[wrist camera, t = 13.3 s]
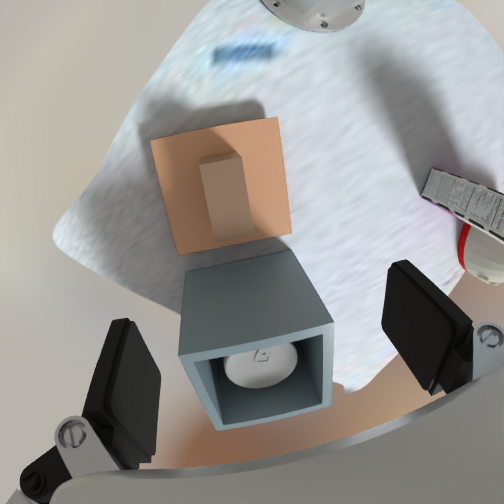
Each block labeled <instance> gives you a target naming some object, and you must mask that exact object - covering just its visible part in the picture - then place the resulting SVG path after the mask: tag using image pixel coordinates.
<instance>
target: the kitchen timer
mask: <svg viewBox="0 0 504 504" xmlns="http://www.w3.org/2000/svg"><path fill="white" fill-rule="evenodd" d="M458 258H459V263H460V264H461V266H462V268H463V269H465V270H466V271H467V272H469V273H471V274H472V275H474V276H476V277H478V278H479V279H480V280H482V281H484V282H486V283H489V284H492V285H495V286H498V285H499V283H500V282H504V245H503V244H502V243H500V242H499V241H497V240H495V239H494V238H492V237H490V236H489V235H487V234H485V233H484V232H482V231H480V230H478V229H477V228H475V227H473V226H471V225H470V224H468V223H466V222H465V224H464V226H463V229H462V231H461V235H460V239H459V243H458Z"/></svg>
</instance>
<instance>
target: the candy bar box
mask: <svg viewBox="0 0 504 504" xmlns="http://www.w3.org/2000/svg"><path fill="white" fill-rule="evenodd" d="M421 197H422V198H423V199H425V200H427V201H429V202H430V203H432V204H434V205H436V206H437V207H439V208H441V209H443V210H444V211H446V212H448V213H450V214H451V215H453V216H455V217H457V218H459V219H460V220H462V221H464V222H466V223H468V224H470V225H471V226H473V227H475V228H477V229H478V230H480V231H482V232H484V233H485V234H487V235H489V236H490V237H492V238H494V239H495V240H497V241H499V242H500V243H502V244H503V245H504V194H503V193H501V192H498V191H496V190H493V189H491V188H488V187H486V186H483V185H481V184H478V183H475V182H472V181H470V180H467V179H465V178H462V177H459V176H456V175H454V174H451V173H448V172H445V171H442V170H439V169H436V168H433V167H432V168H431V170H430V173H429V175H428V179H427V181H426V184H425V187H424V189H423V191H422V194H421Z"/></svg>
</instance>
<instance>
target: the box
mask: <svg viewBox="0 0 504 504" xmlns="http://www.w3.org/2000/svg"><path fill="white" fill-rule="evenodd" d="M290 342H294V345H295V347H296V352H297V357H298V358H297V364H296V366H295V368H294V370H293V371H292V372H291V374H290V375H289V376H288V377H286V378H285V379H284V380H282V381H280V382H279V383H277V384H274V385H272V386H268V387H264V388H246V387H242V386H239V385H237V384H235V383H234V382H232V381H231V380H230V379H229V378H228V376H227V375H226V372H225V368H224V362H223V357H224V356H230V355H235V354H240V353H245V352H250V351H254V350H259V349H264V348H268V347H273V346H277V345H281V344H285V343H290ZM333 353H334V321H333V319H332V317H331V316H330V314H329V312H328V310H327V309H326V307H325V305H324V303H323V302H322V300H321V298H320V297H319V295H318V293H317V292H316V290H315V288H314V286H313V285H312V283H311V281H310V280H309V278H308V276H307V275H306V273H305V271H304V270H303V268H302V266H301V265H300V263H299V261H298V260H297V258H296V256H295V255H294V253H293V251H292V250H288V251H284V252H279V253H274V254H269V255H265V256H260V257H255V258H250V259H246V260H241V261H236V262H231V263H227V264H222V265H217V266H212V267H207V268H203V269H198V270H193V271H188V272H186V274H185V283H184V292H183V302H182V313H181V324H180V336H179V350H178V356H179V359H180V361H181V363H182V365H183V367H184V369H185V371H186V373H187V375H188V377H189V379H190V381H191V383H192V385H193V387H194V389H195V391H196V393H197V395H198V397H199V399H200V401H201V403H202V405H203V406H204V408H205V410H206V412H207V414H208V416H209V417H210V419H211V421H212V423H213V425H214V426H215V428H216V430H217V431H218V430H225V429H231V428H237V427H243V426H249V425H254V424H259V423H264V422H268V421H274V420H278V419H282V418H287V417H291V416H295V415H299V414H303V413H306V412H310V411H314V410H317V409H321V408H324V407H328V406H330V405H331V393H332V376H333Z"/></svg>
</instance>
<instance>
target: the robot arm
mask: <svg viewBox="0 0 504 504" xmlns="http://www.w3.org/2000/svg"><path fill="white" fill-rule="evenodd" d="M262 1H263V2H264V4H265V5H266V6H267V8H268V9H269V10H271V11H272V12H273V13H274V14H275V15H276V16H277V17H279V18H280V19H282V20H283V21H285V22H287V23H289V24H291V25H293V26H295V27H298V28H301V29H303V30H308V31H313V32H324V33H326V32H335V31H338V30H341V29H344V28H346V27H348V26H350V25H351V24H353V23H354V22H355V21H357V19H358V18H359V17H360V16H361V14H362V12H363V10H364V5H365V0H262ZM274 5H277V7H275V6H274ZM321 25H322V26H323V27H322V26H321ZM472 322H473V321H472V320H471V319H470V318H469V317H468V316H467V315H466V314H465V313H464V312H463V311H462V310H461V309H460V308H459V307H458V306H457V305H456V304H455V303H454V302H453V301H452V300H451V299H450V298H449V297H448V296H447V295H446V294H445V293H444V292H442V291H441V290H440V289H439V288H438V287H437V286H436V285H435V284H434V283H433V282H432V281H431V280H430V279H428V278H427V277H426V276H425V275H424V274H423V273H422V272H421V271H420V270H418V269H417V268H416V267H415V266H414V265H413V264H412V263H411V262H409V261H408V260H401V261H397V262H394V263H392V265H391V267H390V268H389V269H388V274H387V283H386V292H385V300H384V307H383V314H382V321H381V325H382V329H383V331H384V332H385V334H386V335H387V336H388V338H389V339H390V341H391V342H392V344H393V345H394V347H395V348H396V349H397V351H398V352H399V354H400V355H401V357H402V358H403V360H404V361H405V362H406V364H407V366H408V367H409V368H410V370H411V372H412V373H413V374H414V376H415V378H416V379H417V380H418V382H419V384H420V385H421V387H422V388H423V389H424V390H428V392H429V393H430V395H431V396H433V395H435V394H437V393H439V392H440V391H442V390H444V391H445V393H446V395H445V396H443V397H441V398H439V399H437V400H435V401H433V402H431V403H429V404H427V405H425V406H423V407H421V408H418V409H416V410H415V411H412V412H410V413H408V414H405V415H403V416H401V417H399V418H396V419H394V420H391V421H389V422H386V423H384V424H382V425H379V426H377V427H374V428H371V429H368V430H366V431H363V432H360V433H357V434H354V435H351V436H348V437H346V438H343V439H339V440H336V441H333V442H329V443H326V444H322V445H319V446H316V447H312V448H308V449H304V450H300V451H296V452H292V453H288V454H283V455H278V456H273V457H268V458H263V459H257V460H252V461H245V462H239V463H232V464H224V465H215V466H205V467H194V468H177V469H147V470H146V469H139V463H151V455H155V452H156V435H157V421H158V409H159V397H160V387H161V374H160V371H159V369H158V367H157V365H156V363H155V361H154V359H153V357H152V356H151V354H150V352H149V350H148V348H147V346H146V344H145V342H144V340H143V338H142V336H141V334H140V332H139V330H138V328H137V326H136V324H135V322H134V321H130V320H129V319H128V318H123V319H116V320H113V321H112V322H111V325H110V328H109V331H108V334H107V336H106V339H105V342H104V345H103V348H102V351H101V354H100V357H99V360H98V362H97V364H96V368H95V371H94V374H93V377H92V381H91V384H90V387H89V391H88V394H87V398H86V401H85V405H84V409H83V413H82V416H70V417H68V418H66V419H64V420H63V421H62V422H61V423H60V424H59V425H58V427H57V429H56V431H55V438H54V439H55V443H56V445H55V446H54V447H53V448H51V449H50V450H49V451H47V452H46V453H45V454H43V455H42V456H41V457H39V458H38V459H36V460H35V461H34V462H32V463H31V464H30V465H29V466H27V467H26V468H25V469H24V470H23V472H22V474H21V476H20V487H21V490H20V491H19V490H18V489H16V491H15V492H14V493H13V495H12V496H11V498H10V499H9V500H8V502H7V503H6V504H504V330H503V329H502V328H501V327H500V326H498V325H497V324H495V323H491V322H482V323H479V324H478V325H476V327H475V328H473V326H472ZM138 469H139V470H138Z"/></svg>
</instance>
